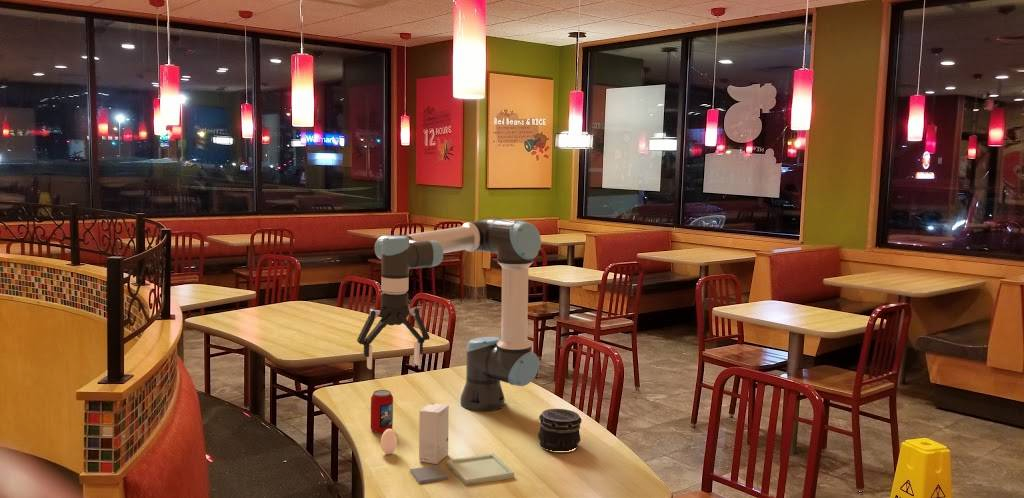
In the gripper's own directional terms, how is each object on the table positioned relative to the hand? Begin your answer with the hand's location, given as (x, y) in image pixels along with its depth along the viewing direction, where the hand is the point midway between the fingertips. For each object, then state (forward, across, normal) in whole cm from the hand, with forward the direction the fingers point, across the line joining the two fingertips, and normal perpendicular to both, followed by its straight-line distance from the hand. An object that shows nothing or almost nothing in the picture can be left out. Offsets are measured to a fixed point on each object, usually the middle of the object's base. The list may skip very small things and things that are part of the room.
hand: (393, 366), depth 223 cm
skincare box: (+26, -10, +6) cm, 29 cm away
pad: (+26, -6, +17) cm, 32 cm away
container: (+26, -48, +10) cm, 56 cm away
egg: (+26, +1, -1) cm, 26 cm away
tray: (+26, -20, +19) cm, 38 cm away
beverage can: (+26, -2, -20) cm, 33 cm away
